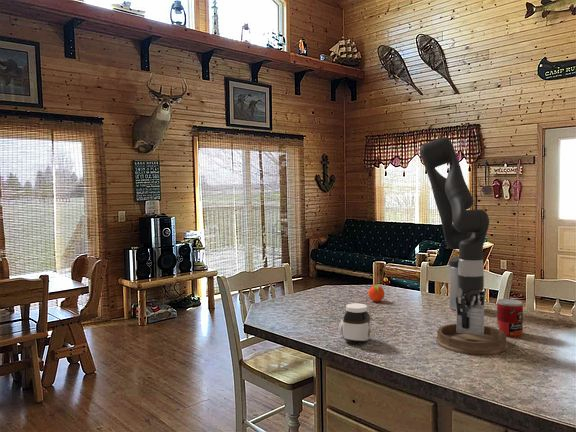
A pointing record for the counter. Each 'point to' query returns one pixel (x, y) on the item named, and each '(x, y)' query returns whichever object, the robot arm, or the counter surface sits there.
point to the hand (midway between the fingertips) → (470, 326)
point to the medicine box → (473, 321)
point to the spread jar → (356, 324)
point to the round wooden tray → (472, 341)
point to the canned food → (510, 317)
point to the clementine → (376, 293)
